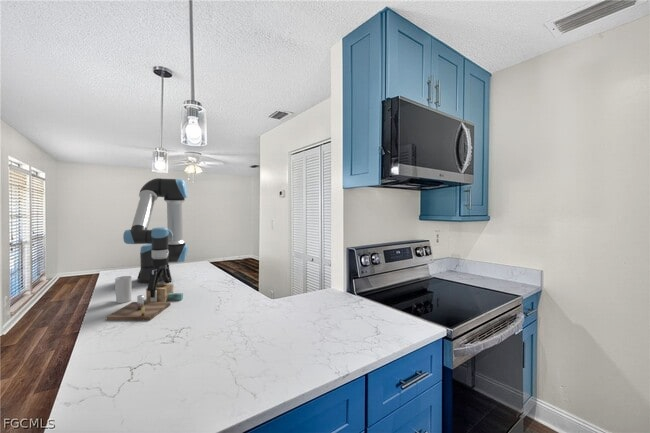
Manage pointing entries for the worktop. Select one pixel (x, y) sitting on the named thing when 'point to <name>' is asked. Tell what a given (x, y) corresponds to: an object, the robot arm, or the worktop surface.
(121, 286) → the mug
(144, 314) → the dowel
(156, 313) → the base board
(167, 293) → the hollow wooden frame
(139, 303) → the post
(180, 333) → the worktop surface
